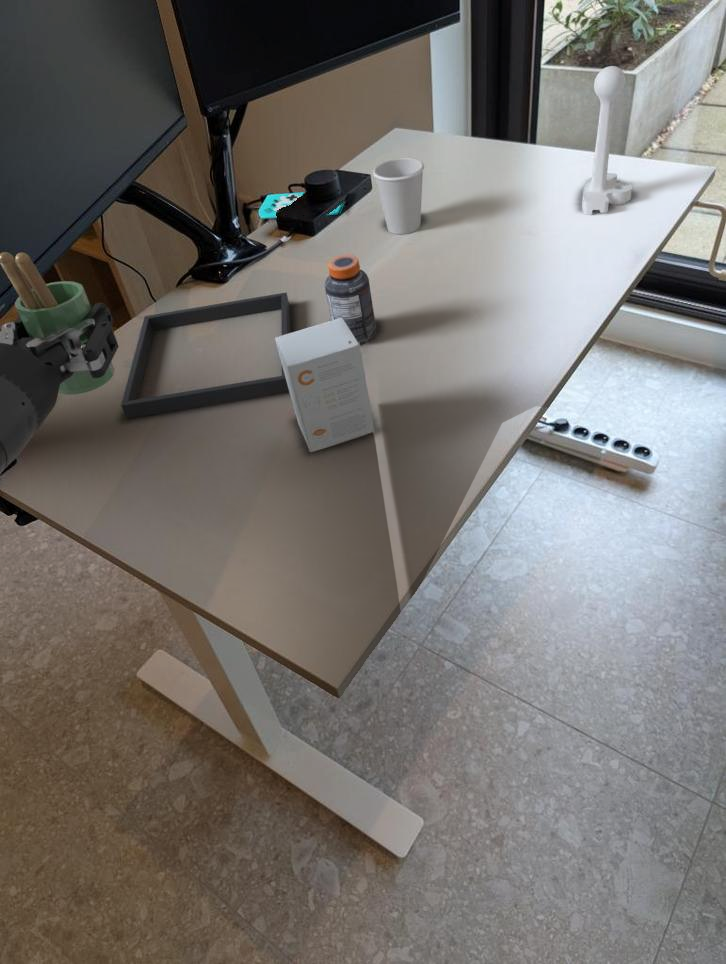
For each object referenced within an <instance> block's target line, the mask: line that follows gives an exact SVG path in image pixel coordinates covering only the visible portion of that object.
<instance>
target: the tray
mask: <svg viewBox="0 0 726 964" xmlns="http://www.w3.org/2000/svg"><path fill="white" fill-rule="evenodd" d="M290 307H291V305H290V302H289V296H288V293H287V292H280V293H275V294H274V293H273V294H269V295H268V294H267V295H263V296H257V297H250V298H244V299H239V300H234V301H227V302H220V303H215V304H210V305H203V306H197V307H192V308H191V307H190V308H186V309H185V308H184V309H180V310H173V311H167V312H162V313H156V314H148V315H145V316H143V321H142V325H141V329H140V333H139V336H138V339H137V344H136V347H135V351H134V355H133V359H132V362H131V367H130V371H129V374H128V379H127V381H126V385H125V389H124V393H123V397H122V401H121V404H120V407H121V408H122V412H123V413H124V415H125V417H126V419H127V420H129V419H134V418H141V417H147V416H151V415H152V416H153V415H160V414H165V413H172V412H178V411H183V410H190V409H196V408H197V409H198V408H202V407H203V408H204V407H207V406H213V405H220V404H226V403H232V402H233V403H234V402H238V401H244V400H251V399H257V398H263V397H268V396H269V397H270V396H276V395H281V394H288V393H289V394H290V392H289V388H288V385H287V381H286V377H285V374H284V370H283V366H282V365H281V375H278V376H272V377H264V378H260V379H253V380H248V381H241V382H235V383H229V384H222V385H216V386H211V387H204V388H198V389H192V390H186V391H180V392H173V393H167V394H162V395H157V396H150V397H144V398H139V396H140V391H141V388H142V383H143V380H144V379H143V378H144V375H145V371H146V366H147V362H148V358H149V355H150V354H149V353H150V350H151V347H152V346H151V345H152V342H153V337H154V333H155V331H160V330H167V329H172V328H173V329H174V328H178V327H184V326H189V325H197V324H203V323H208V322H213V321H214V322H215V321H220V320H225V319H226V320H227V319H231V318H239V317H243V316H250V315H255V314H256V315H257V314H263V313H267V312H273V311H280V310H281V311H280V312H281V314H280V315H281V316H280V317H281V319H280V321H281V336H282V335H286V334H289V333H291V310H290V309H291V308H290Z"/></svg>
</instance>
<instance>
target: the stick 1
mask: <svg viewBox="0 0 726 964" xmlns="http://www.w3.org/2000/svg"><path fill="white" fill-rule="evenodd" d="M0 266H1V268H2V269H3V271H4V272H5V274H6V276H7V278H8V280H9V281H10V283H11V284H12V286H13V288H14V290H15V291H16V293H17V295H18V297H19V296H20V298H21V300H22V302H23V303H24V305H25V307H26V308H27V309H42V307H41V306H40V304H39V302H38V300H37V298H36V297H35V295H34V293H33V291H32V290H31V289H32V287H31V286H30V284H29V283H28V281H27V279H26V278H25V276H24V275H23V273H22V271H21V270H20V268H19V267H18V265H17V263H16V262H15V256H13V254H11V253H10V252H7V251H4V252H1V253H0Z"/></svg>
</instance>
